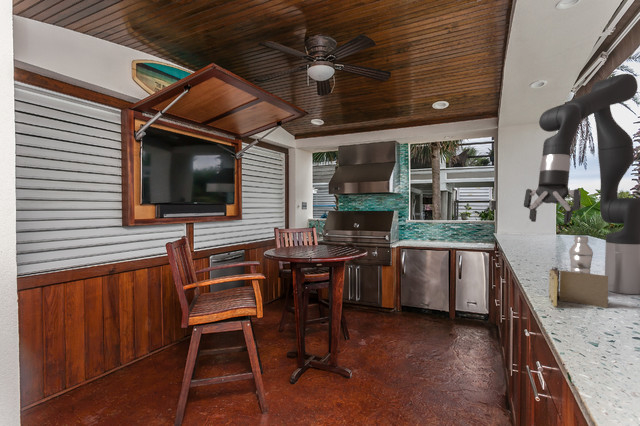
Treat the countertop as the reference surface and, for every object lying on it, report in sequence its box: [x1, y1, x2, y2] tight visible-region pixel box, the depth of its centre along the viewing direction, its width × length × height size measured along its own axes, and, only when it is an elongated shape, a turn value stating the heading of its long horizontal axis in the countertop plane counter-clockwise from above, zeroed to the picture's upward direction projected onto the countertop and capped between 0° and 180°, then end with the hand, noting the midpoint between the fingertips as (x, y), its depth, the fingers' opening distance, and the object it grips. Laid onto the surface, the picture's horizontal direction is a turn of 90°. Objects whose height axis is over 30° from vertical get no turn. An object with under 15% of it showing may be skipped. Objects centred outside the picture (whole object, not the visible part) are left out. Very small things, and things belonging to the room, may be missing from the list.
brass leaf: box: [548, 270, 560, 307], centre depth 102 cm, size 12×3×9 cm, turn 151°
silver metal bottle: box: [568, 235, 594, 274], centre depth 111 cm, size 6×7×20 cm
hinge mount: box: [549, 266, 610, 309], centre depth 104 cm, size 8×14×10 cm, turn 46°
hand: (549, 222), depth 101 cm, fingers open, 8 cm apart
